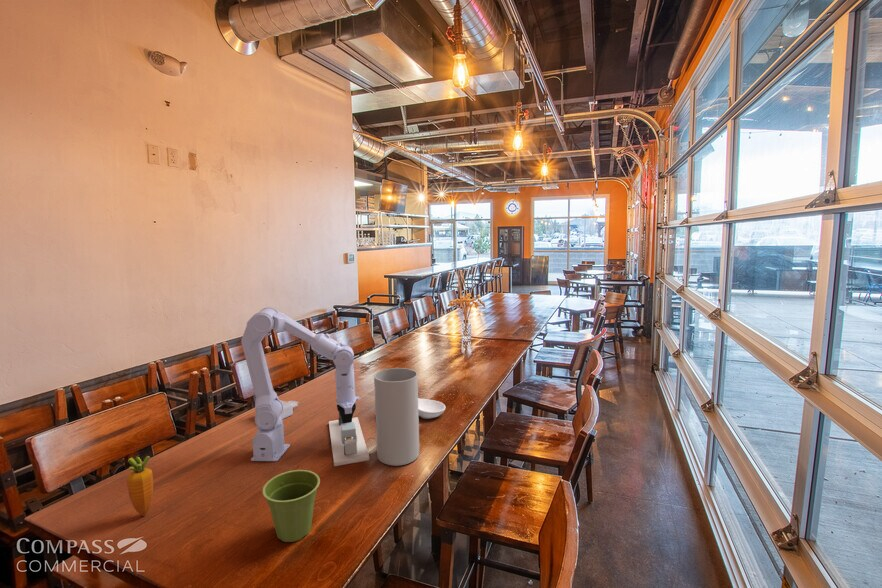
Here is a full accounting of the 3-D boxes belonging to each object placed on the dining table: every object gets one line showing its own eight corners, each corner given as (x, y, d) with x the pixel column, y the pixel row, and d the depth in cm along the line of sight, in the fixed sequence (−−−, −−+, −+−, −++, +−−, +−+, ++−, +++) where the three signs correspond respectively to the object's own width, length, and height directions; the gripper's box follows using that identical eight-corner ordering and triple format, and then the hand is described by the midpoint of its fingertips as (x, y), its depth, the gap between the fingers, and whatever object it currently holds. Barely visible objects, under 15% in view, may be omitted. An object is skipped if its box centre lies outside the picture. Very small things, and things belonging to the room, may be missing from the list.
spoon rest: (446, 409, 158) (445, 390, 157) (445, 422, 146) (445, 403, 145) (384, 409, 159) (383, 391, 158) (378, 422, 147) (377, 403, 146)
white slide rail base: (369, 460, 122) (368, 442, 121) (334, 466, 119) (333, 447, 118) (357, 419, 149) (357, 404, 148) (328, 424, 146) (328, 408, 145)
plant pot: (274, 560, 84) (270, 508, 83) (260, 528, 94) (256, 481, 92) (330, 535, 91) (327, 487, 90) (312, 507, 101) (309, 463, 99)
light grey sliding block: (356, 441, 126) (356, 428, 125) (342, 444, 124) (341, 430, 124) (355, 434, 131) (354, 421, 130) (340, 436, 129) (340, 423, 129)
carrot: (161, 508, 101) (155, 450, 99) (148, 522, 96) (141, 461, 94) (140, 509, 101) (133, 451, 99) (126, 523, 96) (118, 462, 94)
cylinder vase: (373, 449, 128) (370, 371, 124) (412, 442, 132) (410, 366, 129) (382, 470, 116) (379, 384, 113) (425, 461, 120) (423, 378, 117)
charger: (306, 410, 159) (272, 425, 146) (290, 405, 164) (255, 419, 151) (305, 398, 158) (271, 412, 146) (289, 393, 163) (254, 407, 151)
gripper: (361, 391, 123) (363, 435, 125) (355, 376, 137) (357, 415, 138) (336, 394, 121) (339, 438, 123) (333, 378, 134) (335, 418, 136)
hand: (347, 426), depth 130 cm, fingers closed
